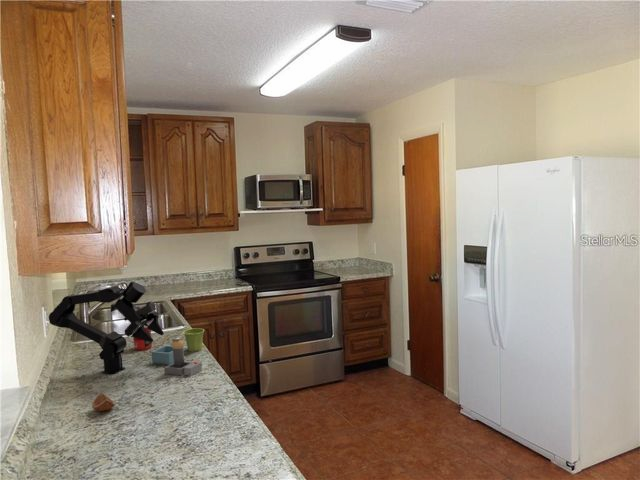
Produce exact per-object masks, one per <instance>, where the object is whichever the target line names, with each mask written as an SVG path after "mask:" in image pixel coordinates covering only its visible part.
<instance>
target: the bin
mask: <svg viewBox="0 0 640 480" xmlns="http://www.w3.org/2000/svg"><path fill="white" fill-rule="evenodd" d="M151 363H153V364H154V365H155V364H156V365H162V364H163V365H164V366H168V365H170V364H172V363H174V359H173V346H172V345H164V346H162V347H160V348H157V349H155V350H153V351H151ZM153 364H152V365H153ZM163 365H162V366H163Z"/></svg>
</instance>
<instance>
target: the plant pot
mask: <svg viewBox="0 0 640 480" xmlns="http://www.w3.org/2000/svg"><path fill="white" fill-rule="evenodd" d="M204 332H205V329H204V328H188V329H186V330H184V331H183V332H182V333H183V335H184V338H185V341H186V342H185V343H186V348H187V351H189V352H190V353H191V352H193V353H196V352H197V351H199V350H200V351H201V350H203V337H204Z"/></svg>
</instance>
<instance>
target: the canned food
mask: <svg viewBox="0 0 640 480" xmlns="http://www.w3.org/2000/svg"><path fill="white" fill-rule="evenodd" d="M147 327H148V326H145V325H144V329H145V331H146V332H147V333H148V334H149V335H150V336H151V337H152V330H150V329H148V328H147ZM132 338H133V348H134V350H135V351H139V352H141V351H142V350H143V351H147V350H150V349H152V347H153V342H149V341H146V340H142V339H139V338H135V337H132Z"/></svg>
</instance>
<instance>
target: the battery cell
mask: <svg viewBox="0 0 640 480" xmlns="http://www.w3.org/2000/svg"><path fill="white" fill-rule="evenodd" d="M171 342H172V343H171V346H173V359H174V367H175V368H182V367H184V366H185V364H184V361H185V354H184V353H185V352H184V338H180V337H175V339H173V340H171Z"/></svg>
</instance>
